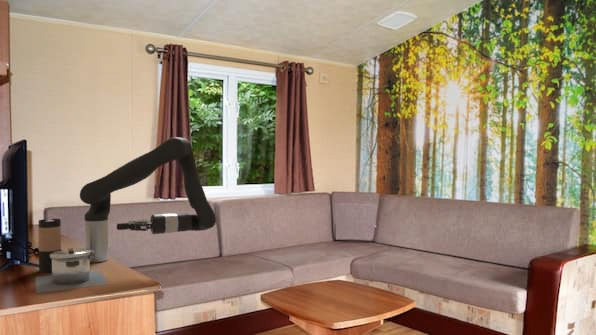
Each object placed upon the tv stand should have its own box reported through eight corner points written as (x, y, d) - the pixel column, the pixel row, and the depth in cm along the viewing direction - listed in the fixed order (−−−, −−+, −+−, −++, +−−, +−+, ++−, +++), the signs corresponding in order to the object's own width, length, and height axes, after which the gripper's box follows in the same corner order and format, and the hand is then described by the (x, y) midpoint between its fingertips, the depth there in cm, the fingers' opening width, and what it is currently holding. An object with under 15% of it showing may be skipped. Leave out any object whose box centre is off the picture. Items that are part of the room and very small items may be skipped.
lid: (49, 255, 168) (49, 248, 168) (91, 250, 175) (91, 244, 175) (50, 262, 157) (50, 255, 157) (96, 257, 164) (96, 250, 164)
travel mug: (51, 275, 175) (51, 221, 175) (33, 273, 177) (33, 221, 176) (65, 270, 183) (65, 219, 182) (48, 269, 184) (48, 218, 184)
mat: (35, 278, 170) (35, 277, 170) (100, 271, 181) (100, 270, 181) (35, 294, 151) (35, 292, 151) (108, 285, 162) (108, 284, 162)
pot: (51, 277, 170) (50, 252, 170) (89, 273, 177) (89, 249, 177) (53, 288, 156) (52, 261, 156) (94, 283, 163) (94, 257, 162)
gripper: (160, 212, 188) (114, 214, 179) (168, 216, 176) (119, 218, 167) (160, 230, 188) (114, 234, 179) (168, 235, 176) (119, 239, 168)
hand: (117, 226), depth 173 cm, fingers closed
